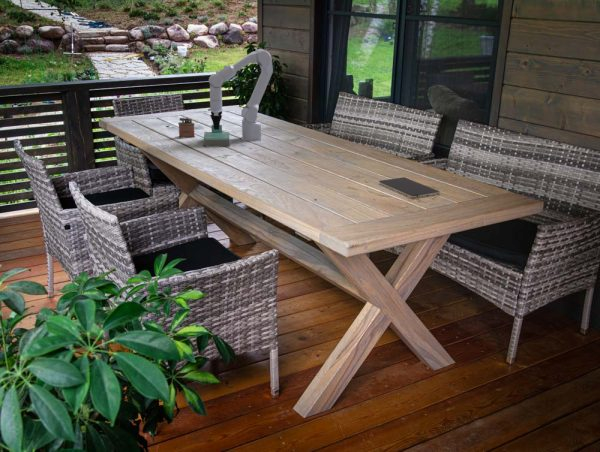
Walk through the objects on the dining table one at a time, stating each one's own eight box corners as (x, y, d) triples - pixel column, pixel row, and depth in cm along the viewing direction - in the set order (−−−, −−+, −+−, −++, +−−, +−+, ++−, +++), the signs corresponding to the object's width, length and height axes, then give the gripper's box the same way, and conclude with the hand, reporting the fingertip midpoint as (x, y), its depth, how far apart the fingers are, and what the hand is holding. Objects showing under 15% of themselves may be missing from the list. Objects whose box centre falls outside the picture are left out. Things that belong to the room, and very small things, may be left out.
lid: (229, 135, 315) (229, 124, 313) (229, 141, 302) (229, 130, 300) (204, 135, 314) (204, 125, 312) (203, 142, 301) (203, 130, 299)
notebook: (439, 195, 239) (404, 180, 256) (439, 191, 238) (404, 177, 256) (412, 199, 233) (377, 184, 250) (412, 195, 232) (378, 180, 250)
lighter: (195, 137, 322) (195, 117, 318) (194, 138, 318) (193, 118, 315) (180, 136, 322) (179, 116, 319) (178, 138, 319) (177, 118, 316)
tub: (229, 140, 316) (229, 133, 315) (229, 147, 303) (229, 139, 302) (204, 140, 315) (204, 133, 314) (203, 147, 302) (203, 139, 301)
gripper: (207, 97, 314) (208, 124, 319) (207, 102, 301) (207, 130, 305) (222, 97, 315) (222, 124, 320) (222, 102, 302) (222, 130, 306)
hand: (216, 127), depth 313 cm, fingers open, 7 cm apart
